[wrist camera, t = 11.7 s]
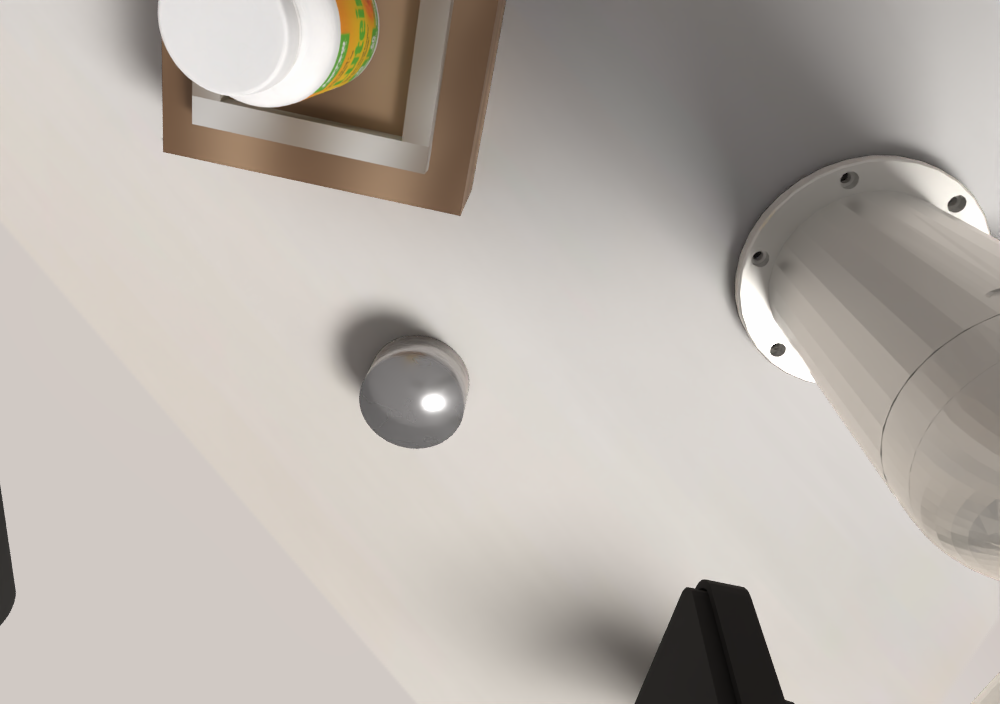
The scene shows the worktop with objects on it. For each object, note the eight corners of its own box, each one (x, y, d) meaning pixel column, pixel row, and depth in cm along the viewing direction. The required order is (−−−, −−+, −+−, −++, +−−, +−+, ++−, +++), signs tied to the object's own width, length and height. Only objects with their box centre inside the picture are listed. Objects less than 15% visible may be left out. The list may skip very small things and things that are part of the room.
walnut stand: (527, -118, 32) (522, -143, 26) (471, 190, 38) (457, 221, 32) (215, -189, 31) (144, -230, 26) (210, 134, 37) (152, 156, 32)
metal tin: (477, 345, 42) (472, 369, 39) (460, 429, 45) (454, 457, 42) (377, 325, 42) (365, 347, 39) (366, 410, 44) (354, 437, 42)
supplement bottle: (376, 98, 31) (307, 135, 22) (254, 76, 31) (138, 104, 22) (387, -41, 29) (315, -60, 20) (256, -65, 29) (126, -94, 20)
